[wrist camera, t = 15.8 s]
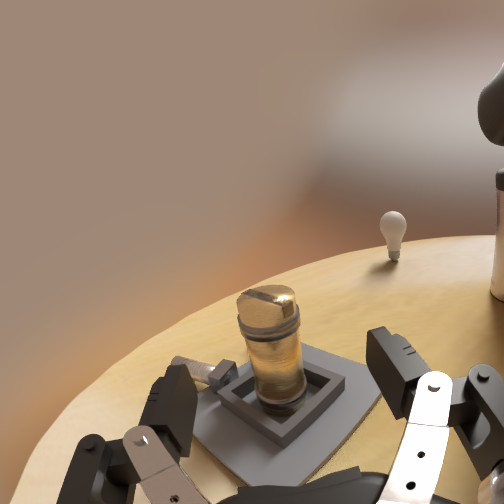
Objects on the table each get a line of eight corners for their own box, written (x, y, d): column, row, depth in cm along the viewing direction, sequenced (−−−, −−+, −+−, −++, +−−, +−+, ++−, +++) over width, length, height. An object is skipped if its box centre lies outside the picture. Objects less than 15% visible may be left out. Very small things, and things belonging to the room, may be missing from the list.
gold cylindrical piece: (318, 395, 25) (309, 290, 22) (284, 426, 22) (264, 319, 18) (282, 378, 29) (265, 280, 25) (248, 403, 25) (221, 302, 22)
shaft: (241, 385, 30) (235, 361, 29) (227, 403, 27) (219, 379, 26) (189, 370, 34) (181, 348, 33) (174, 384, 31) (165, 362, 30)
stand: (392, 380, 25) (395, 360, 24) (276, 507, 14) (272, 495, 13) (285, 342, 37) (283, 323, 36) (173, 414, 26) (164, 396, 25)
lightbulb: (399, 254, 59) (397, 208, 56) (411, 262, 54) (410, 212, 51) (377, 258, 60) (374, 211, 57) (388, 267, 54) (386, 215, 51)
